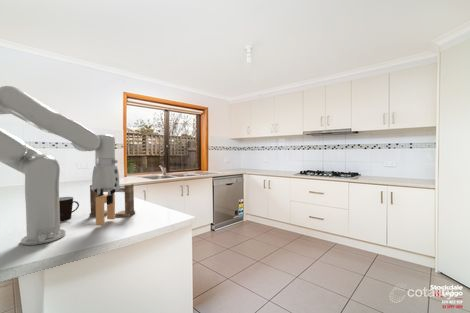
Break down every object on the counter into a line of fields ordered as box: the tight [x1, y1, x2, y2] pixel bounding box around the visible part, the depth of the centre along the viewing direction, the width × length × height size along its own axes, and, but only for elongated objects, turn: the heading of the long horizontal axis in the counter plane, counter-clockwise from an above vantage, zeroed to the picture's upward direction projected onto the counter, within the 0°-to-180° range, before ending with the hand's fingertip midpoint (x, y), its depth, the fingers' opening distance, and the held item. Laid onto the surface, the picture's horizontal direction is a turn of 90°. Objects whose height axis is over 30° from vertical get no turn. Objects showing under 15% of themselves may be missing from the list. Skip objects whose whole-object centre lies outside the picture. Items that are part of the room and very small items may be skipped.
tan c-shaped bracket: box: [95, 193, 116, 226], centre depth 99 cm, size 3×9×12 cm, turn 178°
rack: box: [88, 183, 136, 218], centre depth 112 cm, size 20×6×16 cm, turn 88°
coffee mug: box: [59, 196, 80, 222], centre depth 105 cm, size 12×9×10 cm
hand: (105, 203), depth 99 cm, fingers closed on tan c-shaped bracket, 3 cm apart
